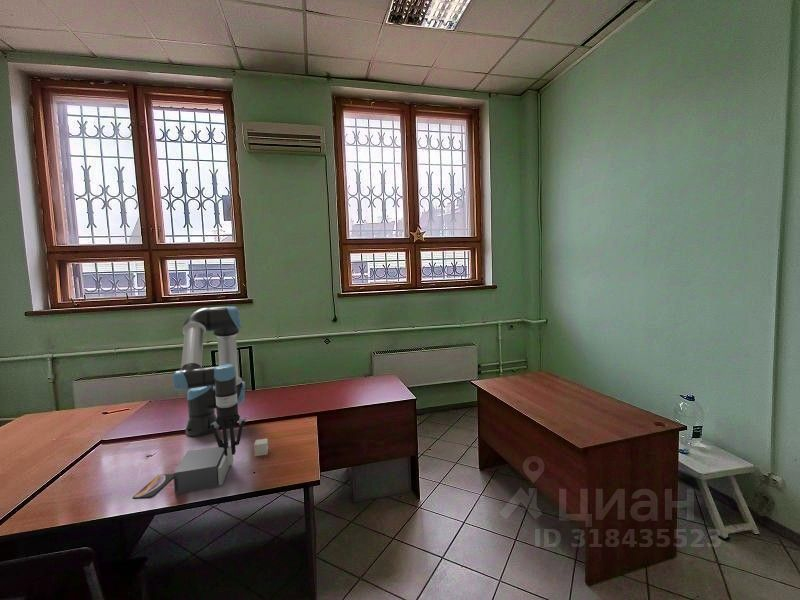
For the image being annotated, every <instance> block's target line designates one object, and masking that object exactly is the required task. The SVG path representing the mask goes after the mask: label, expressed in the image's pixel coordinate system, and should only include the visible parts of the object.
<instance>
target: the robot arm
mask: <svg viewBox="0 0 800 600" xmlns="http://www.w3.org/2000/svg"><path fill="white" fill-rule="evenodd" d="M242 327H243V326H242V320H241V317H240V311H239V308H238V307H237V306H216V307H215V306H214V307H203V308H199V309H197V310H195V311H193V312H192V313H191V314H189V316H187V317H186V319H185V320H184V322H183V325H182V334H183V335H184V336H183V344H182V354H181V364H180V369H179V370H176V371H174V372H173V376H172V382H173V383H172V384H173V388H174V389H175V390H177V391H181V390H187V392H186V393H187V398H186V400H187V407H188V408H187V409H188V410H187V411H188V420H187V423H186V426H185V434H186V436H188V437H201V436H206V435H209V434H212V433H213V434H214V437H215V440H216V443H217V447H218V446H219V448H221V447H223V448H224V454H225V456H228V465H229V464H230V465H232V464H233V463H234V455H236V452H237V451H236V446H239V445H240V443H241V439H242V434H243V430H244V429H243V428H244V425H245V423H246V421H247V419H246V418H242V417H241V416H240V415H239V407H238V406H239V405H241V404H243V403H244V401H245V396H246V395H245V394H246V390H245V389H246V382H245V381H243V379H242V377H240V376H239V365H238V346H237V335H238V334H240V333H239V332H240V330H241V329H242ZM207 332H213V336H214V337H216V339H217V341H216V342H217V353H218V365H216V366H208V367H203V354H204V353H203V352H204V335H205V334H206V333H207ZM215 409H216V410H215ZM215 411H216V412H215ZM237 423H238V425H239V427H238V431H237V437H236V433H235V426H236V425H237ZM220 428H221V430H222V436H221V433H220ZM228 429H229V436H230V444H229V436H228Z"/></svg>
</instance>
